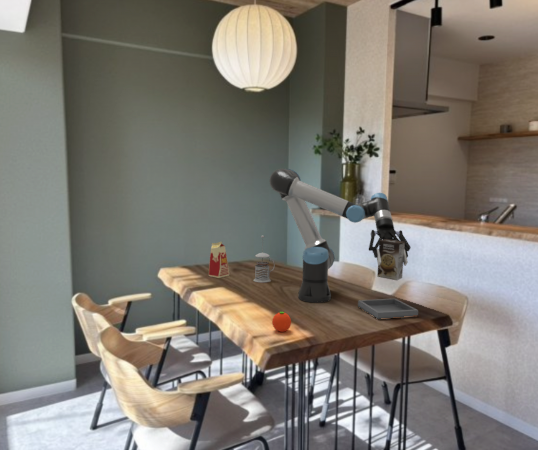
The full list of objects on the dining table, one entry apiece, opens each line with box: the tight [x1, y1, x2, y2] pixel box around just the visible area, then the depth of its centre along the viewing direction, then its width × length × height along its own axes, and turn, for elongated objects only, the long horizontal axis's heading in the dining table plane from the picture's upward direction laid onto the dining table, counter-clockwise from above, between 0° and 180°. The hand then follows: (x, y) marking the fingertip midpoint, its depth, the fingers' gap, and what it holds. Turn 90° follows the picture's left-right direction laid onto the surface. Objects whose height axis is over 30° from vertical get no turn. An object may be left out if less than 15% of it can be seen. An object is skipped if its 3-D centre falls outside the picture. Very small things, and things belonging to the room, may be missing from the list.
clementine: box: [271, 311, 292, 333], centre depth 158 cm, size 8×7×7 cm
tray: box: [357, 297, 419, 320], centre depth 183 cm, size 18×18×3 cm
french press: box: [253, 235, 276, 283], centre depth 236 cm, size 10×12×25 cm
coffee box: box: [376, 239, 405, 281], centre depth 185 cm, size 9×6×16 cm
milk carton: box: [208, 241, 230, 279], centre depth 246 cm, size 9×9×20 cm
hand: (392, 263), depth 183 cm, fingers closed on coffee box, 10 cm apart
